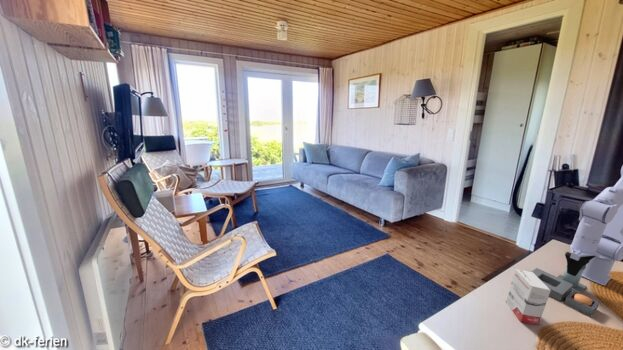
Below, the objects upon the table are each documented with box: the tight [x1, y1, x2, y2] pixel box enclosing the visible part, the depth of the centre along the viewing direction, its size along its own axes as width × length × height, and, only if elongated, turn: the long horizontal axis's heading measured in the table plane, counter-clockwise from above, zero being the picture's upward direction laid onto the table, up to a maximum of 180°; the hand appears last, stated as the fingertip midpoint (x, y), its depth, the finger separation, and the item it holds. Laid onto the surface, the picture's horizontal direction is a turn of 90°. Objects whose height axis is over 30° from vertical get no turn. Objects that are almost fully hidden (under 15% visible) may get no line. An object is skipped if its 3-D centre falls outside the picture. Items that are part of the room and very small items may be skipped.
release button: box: [574, 293, 593, 307], centre depth 80 cm, size 4×4×2 cm
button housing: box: [564, 290, 600, 318], centre depth 80 cm, size 6×6×2 cm
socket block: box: [530, 267, 573, 302], centre depth 88 cm, size 10×10×2 cm
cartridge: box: [562, 265, 586, 287], centre depth 89 cm, size 4×4×8 cm
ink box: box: [505, 268, 551, 326], centre depth 75 cm, size 9×5×12 cm, turn 168°
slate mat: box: [557, 274, 587, 294], centre depth 90 cm, size 7×7×1 cm
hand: (573, 272), depth 89 cm, fingers open, 5 cm apart
